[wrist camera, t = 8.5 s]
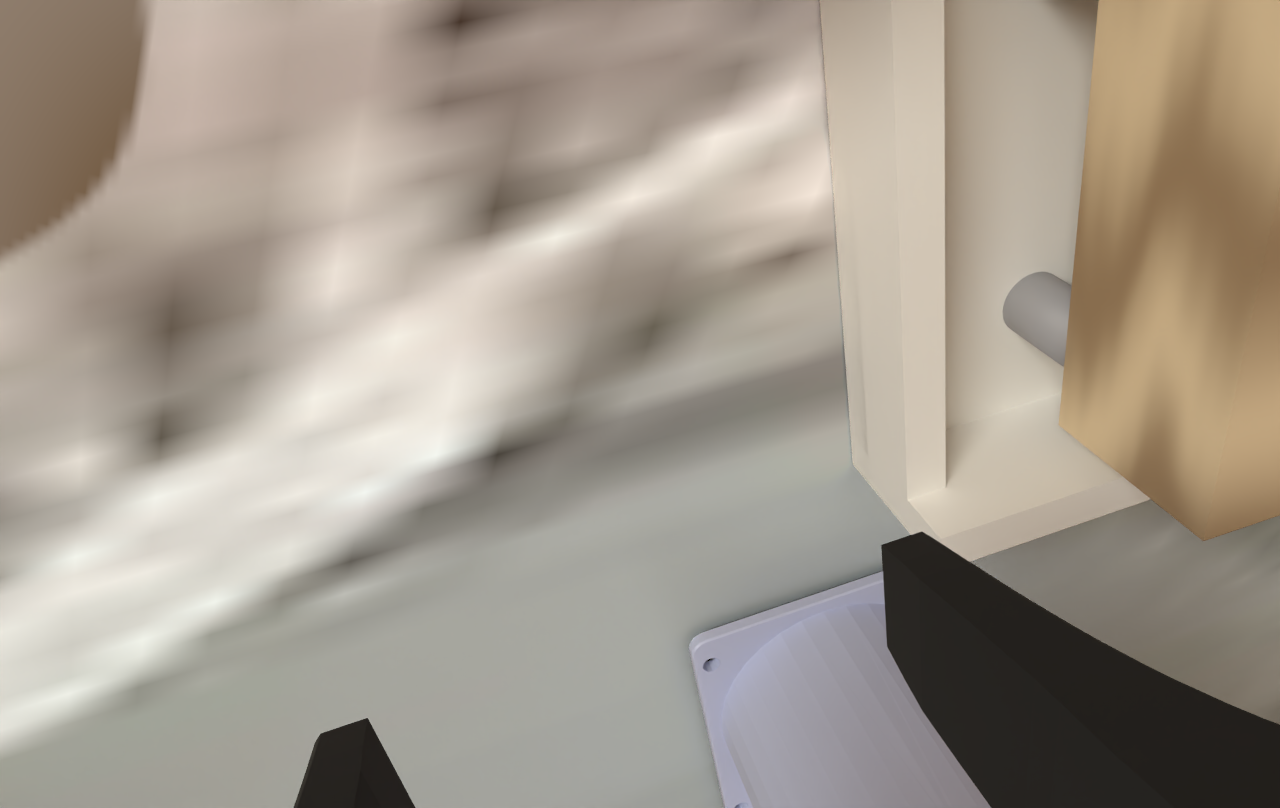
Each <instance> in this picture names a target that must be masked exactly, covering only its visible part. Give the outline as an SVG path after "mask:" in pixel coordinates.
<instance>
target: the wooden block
mask: <svg viewBox="0 0 1280 808" xmlns="http://www.w3.org/2000/svg"><path fill="white" fill-rule="evenodd" d="M1059 426H1060V427H1062V428H1063V429H1064V430H1065V431H1067V432H1068V433H1069V434H1070V435H1072V436H1073V437H1074V438H1075V439H1077V440H1078V441H1079V442H1080V443H1082V444H1083V445H1084V446H1085V447H1087V448H1088V449H1089V450H1090V451H1092V452H1093V453H1094V454H1095V455H1097V456H1098V457H1099V458H1100V459H1101V460H1103V461H1104V462H1105V463H1106V464H1108V465H1109V466H1110V467H1111V468H1113V469H1114V470H1115V471H1116V472H1118V473H1119V474H1120V475H1121V476H1123V477H1124V478H1125V479H1126V480H1128V481H1129V482H1130V483H1131V484H1133V485H1134V486H1135V487H1136V488H1138V489H1139V490H1140V491H1141V492H1143V493H1144V494H1145V495H1146V496H1148V497H1149V498H1150V499H1151V500H1153V501H1154V502H1155V503H1156V504H1158V505H1159V506H1160V507H1161V508H1163V509H1164V510H1165V511H1166V512H1168V513H1169V514H1170V515H1171V516H1173V517H1174V518H1175V519H1176V520H1178V521H1179V522H1180V523H1181V524H1183V525H1184V526H1185V527H1186V528H1188V529H1189V530H1190V531H1191V532H1193V533H1194V534H1195V535H1196V536H1198V537H1199V538H1200V539H1201V540H1203V541H1205V540H1208V539H1211V538H1214V537H1217V536H1220V535H1223V534H1226V533H1229V532H1232V531H1235V530H1238V529H1241V528H1244V527H1247V526H1249V525H1252V524H1255V523H1258V522H1261V521H1264V520H1267V519H1270V518H1273V517H1276V516H1279V515H1280V0H1099V2H1098V13H1097V23H1096V34H1095V44H1094V55H1093V66H1092V76H1091V87H1090V97H1089V108H1088V118H1087V129H1086V140H1085V150H1084V161H1083V171H1082V182H1081V192H1080V203H1079V214H1078V224H1077V235H1076V245H1075V256H1074V266H1073V277H1072V288H1071V298H1070V309H1069V319H1068V330H1067V340H1066V351H1065V362H1064V372H1063V383H1062V393H1061V404H1060V414H1059Z"/></svg>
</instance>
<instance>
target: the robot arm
mask: <svg viewBox="0 0 1280 808" xmlns="http://www.w3.org/2000/svg"><path fill="white" fill-rule="evenodd" d="M882 563H883V571H881V572H878V573H875V574H873V575H870V576H867V577H864V578H861V579H858V580H855V581H852V582H849V583H846V584H843V585H840V586H837V587H834V588H831V589H828V590H826V591H823V592H820V593H817V594H814V595H811V596H808V597H805V598H802V599H799V600H796V601H793V602H790V603H787V604H784V605H781V606H779V607H776V608H773V609H770V610H767V611H764V612H761V613H758V614H755V615H752V616H749V617H746V618H743V619H740V620H737V621H734V622H732V623H729V624H726V625H723V626H720V627H717V628H714V629H711V630H708V631H705V632H702V633H700V634H698V635H697V636H695V637H694V638H693V639H692V640H691V642H690V644H689V653H690V658H691V662H692V666H693V671H694V675H695V680H696V684H697V689H698V693H699V698H700V702H701V707H702V711H703V716H704V720H705V724H706V729H707V733H708V738H709V742H710V747H711V751H712V756H713V760H714V765H715V769H716V773H717V778H718V782H719V787H720V791H721V796H722V800H723V805H724V808H1280V725H1279V724H1276V723H1274V722H1271V721H1268V720H1266V719H1263V718H1261V717H1258V716H1256V715H1254V714H1251V713H1249V712H1246V711H1244V710H1241V709H1239V708H1237V707H1234V706H1232V705H1230V704H1227V703H1225V702H1223V701H1221V700H1218V699H1216V698H1214V697H1212V696H1210V695H1207V694H1205V693H1203V692H1201V691H1199V690H1196V689H1194V688H1192V687H1190V686H1188V685H1185V684H1183V683H1181V682H1179V681H1177V680H1175V679H1172V678H1170V677H1168V676H1166V675H1164V674H1162V673H1160V672H1158V671H1156V670H1154V669H1152V668H1150V667H1148V666H1146V665H1144V664H1142V663H1140V662H1138V661H1137V660H1135V659H1133V658H1131V657H1129V656H1127V655H1125V654H1123V653H1122V652H1120V651H1118V650H1116V649H1114V648H1112V647H1110V646H1108V645H1107V644H1105V643H1103V642H1101V641H1099V640H1097V639H1096V638H1094V637H1092V636H1090V635H1089V634H1087V633H1085V632H1083V631H1081V630H1080V629H1078V628H1076V627H1074V626H1073V625H1071V624H1069V623H1068V622H1066V621H1064V620H1063V619H1061V618H1059V617H1058V616H1056V615H1054V614H1052V613H1051V612H1049V611H1047V610H1046V609H1044V608H1042V607H1041V606H1039V605H1037V604H1036V603H1034V602H1032V601H1031V600H1029V599H1027V598H1026V597H1024V596H1022V595H1021V594H1019V593H1018V592H1016V591H1014V590H1013V589H1011V588H1010V587H1008V586H1006V585H1005V584H1003V583H1002V582H1000V581H999V580H997V579H995V578H994V577H992V576H991V575H989V574H988V573H986V572H984V571H983V570H981V569H980V568H978V567H977V566H975V565H974V564H972V563H971V562H969V561H967V560H966V559H964V558H963V557H961V556H960V555H958V554H957V553H955V552H954V551H952V550H951V549H949V548H948V547H946V546H945V545H943V544H941V543H940V542H938V541H937V540H935V539H934V538H932V537H931V536H929V535H927V534H925V533H924V532H919V533H916V534H913V535H910V536H907V537H904V538H901V539H898V540H895V541H892V542H889V543H886V544H883V545H882ZM711 658H713V659H711ZM709 659H711V660H710V661H707V660H709ZM294 808H415V806H414V804H413V803H412V801H411V799H410V797H409V795H408V793H407V791H406V789H405V788H404V786H403V784H402V782H401V780H400V778H399V776H398V774H397V772H396V771H395V769H394V767H393V765H392V763H391V761H390V759H389V757H388V756H387V754H386V752H385V750H384V748H383V746H382V744H381V742H380V741H379V739H378V737H377V735H376V733H375V731H374V729H373V727H372V725H371V724H370V722H369V720H368V718H366V719H363V720H360V721H357V722H354V723H351V724H348V725H345V726H342V727H339V728H336V729H333V730H330V731H327V732H324V733H321V734H320V736H319V737H318V739H317V740H316V742H315V745H314V748H313V751H312V754H311V757H310V760H309V764H308V767H307V770H306V773H305V776H304V779H303V782H302V785H301V788H300V791H299V794H298V797H297V800H296V803H295V805H294Z"/></svg>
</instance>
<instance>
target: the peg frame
mask: <svg viewBox="0 0 1280 808" xmlns="http://www.w3.org/2000/svg"><path fill="white" fill-rule="evenodd" d="M819 1H820V15H821V29H822V43H823V56H824V70H825V84H826V98H827V112H828V126H829V140H830V154H831V168H832V182H833V196H834V210H835V224H836V237H837V251H838V265H839V279H840V293H841V307H842V321H843V335H844V349H845V363H846V377H847V391H848V405H849V418H850V432H851V446H852V460H853V465H854V467H855V468H856V469H857V470H858V471H859V473H860V474H861V475H862V476H863V477H864V479H865V480H866V481H867V482H868V483H869V485H870V486H871V487H872V488H873V490H874V491H875V492H876V493H877V494H878V496H879V497H880V498H881V499H882V500H883V502H884V503H885V504H886V505H887V507H888V508H889V509H890V510H891V511H892V513H893V514H894V515H895V516H896V517H897V519H898V520H899V521H900V522H901V523H902V525H903V526H904V527H905V528H906V530H907V531H908V532H909V533H910V534H911V535H913V534H916V533H919V532H924V533H925V534H927V535H929V536H931V537H932V538H934V539H935V540H937V541H938V542H940V543H941V544H943V545H945V546H946V547H948V548H949V549H951V550H952V551H954V552H955V553H957V554H958V555H960V556H961V557H963V558H964V559H966V560H967V561H969V562H970V561H973V560H976V559H979V558H981V557H984V556H987V555H990V554H993V553H996V552H999V551H1002V550H1005V549H1008V548H1011V547H1014V546H1016V545H1019V544H1022V543H1025V542H1028V541H1031V540H1034V539H1037V538H1040V537H1043V536H1046V535H1048V534H1051V533H1054V532H1057V531H1060V530H1063V529H1066V528H1069V527H1072V526H1075V525H1078V524H1081V523H1083V522H1086V521H1089V520H1092V519H1095V518H1098V517H1101V516H1104V515H1107V514H1110V513H1113V512H1115V511H1118V510H1121V509H1124V508H1127V507H1130V506H1133V505H1136V504H1139V503H1142V502H1145V501H1148V500H1150V498H1149V497H1148V496H1146V495H1145V494H1144V493H1143V492H1141V491H1140V490H1139V489H1138V488H1136V487H1135V486H1134V485H1133V484H1131V483H1130V482H1129V481H1128V480H1126V479H1125V478H1124V477H1123V476H1121V475H1120V474H1119V473H1118V472H1116V471H1115V470H1114V469H1113V468H1111V467H1110V466H1109V465H1108V464H1106V463H1105V462H1104V461H1103V460H1101V459H1100V458H1099V457H1098V456H1097V455H1095V454H1094V453H1093V452H1092V451H1090V450H1089V449H1088V448H1087V447H1085V446H1084V445H1083V444H1082V443H1080V442H1079V441H1078V440H1077V439H1075V438H1074V437H1073V436H1072V435H1070V434H1069V433H1068V432H1067V431H1065V430H1064V429H1063V428H1062V427H1060V426H1059V414H1060V404H1061V393H1062V383H1063V372H1064V362H1065V351H1066V340H1067V330H1068V319H1069V309H1070V298H1071V288H1072V277H1073V266H1074V256H1075V245H1076V235H1077V224H1078V214H1079V203H1080V192H1081V182H1082V171H1083V161H1084V150H1085V140H1086V129H1087V118H1088V108H1089V97H1090V87H1091V76H1092V66H1093V55H1094V44H1095V34H1096V23H1097V13H1098V2H1099V0H819Z"/></svg>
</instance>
